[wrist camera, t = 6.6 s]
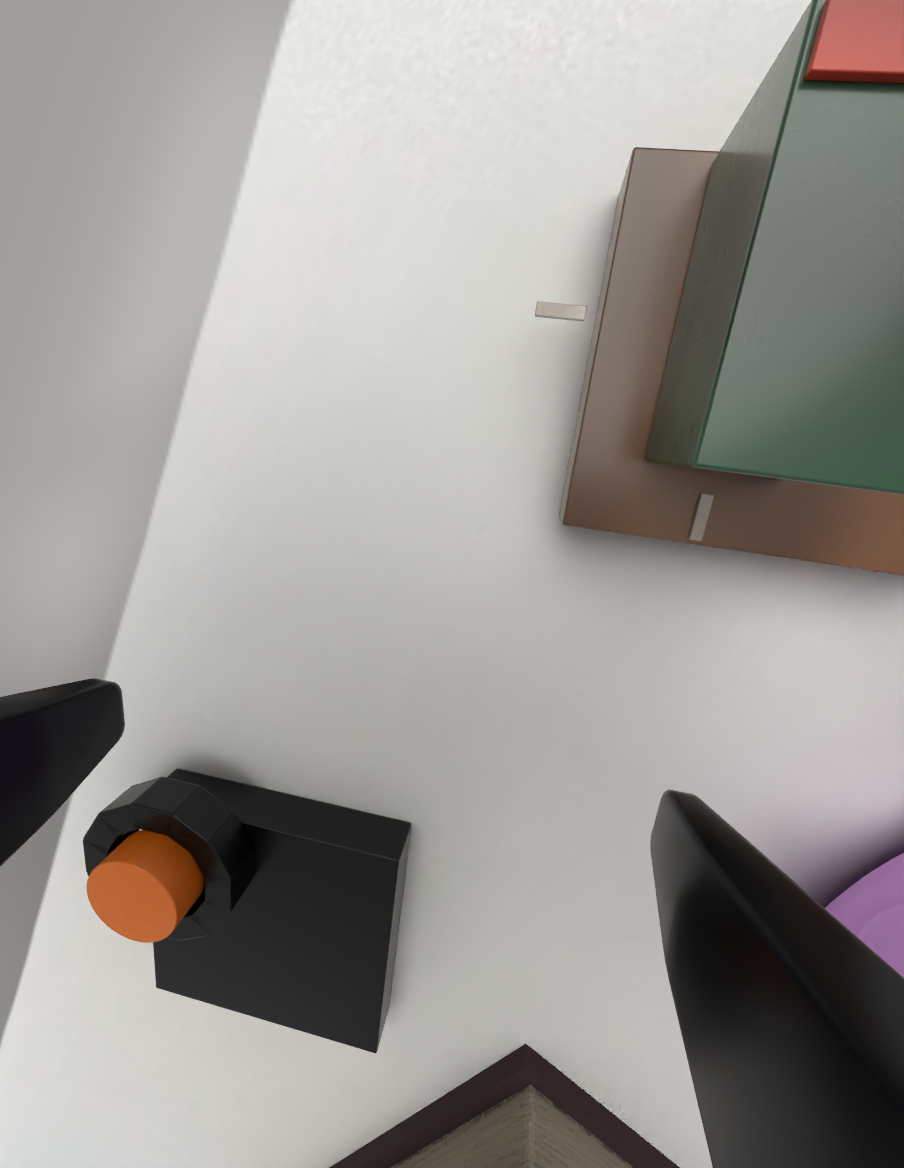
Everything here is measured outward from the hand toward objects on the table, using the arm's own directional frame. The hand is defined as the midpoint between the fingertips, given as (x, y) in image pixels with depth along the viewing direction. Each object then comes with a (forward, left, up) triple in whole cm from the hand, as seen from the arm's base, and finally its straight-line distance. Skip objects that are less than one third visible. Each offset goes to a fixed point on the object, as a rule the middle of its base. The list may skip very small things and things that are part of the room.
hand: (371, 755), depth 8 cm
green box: (+7, +9, -9) cm, 15 cm away
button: (-11, -14, -8) cm, 20 cm away
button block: (-8, -17, -12) cm, 23 cm away
